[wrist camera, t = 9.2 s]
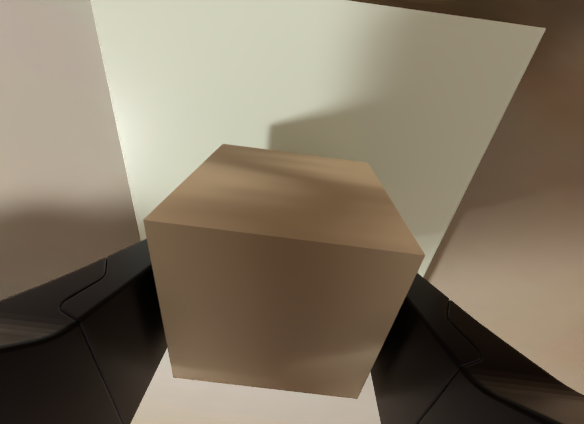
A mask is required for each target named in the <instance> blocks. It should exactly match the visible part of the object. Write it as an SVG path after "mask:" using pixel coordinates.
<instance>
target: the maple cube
mask: <svg viewBox="0 0 584 424" xmlns="http://www.w3.org/2000/svg"><path fill="white" fill-rule="evenodd" d="M143 222H144V227H145V233H146V238H147V243H148V248H149V253H150V259H151V264H152V269H153V274H154V279H155V284H156V290H157V295H158V300H159V305H160V310H161V316H162V321H163V326H164V331H165V336H166V342H167V347H168V352H169V357H170V362H171V367H172V373H173V377H174V378H183V379H191V380H200V381H208V382H217V383H226V384H234V385H243V386H251V387H260V388H269V389H277V390H286V391H294V392H303V393H312V394H320V395H329V396H337V397H346V398H355V399H357V398H358V396H359V394H360V392H361V390H362V388H363V386H364V384H365V382H366V379H367V377H368V375H369V373H370V371H371V369H372V367H373V365H374V363H375V360H376V358H377V356H378V354H379V352H380V350H381V348H382V346H383V344H384V342H385V339H386V337H387V335H388V333H389V331H390V329H391V327H392V325H393V323H394V320H395V318H396V316H397V314H398V312H399V310H400V308H401V306H402V304H403V301H404V299H405V297H406V295H407V293H408V291H409V289H410V287H411V285H412V282H413V280H414V278H415V276H416V274H417V272H418V270H419V268H420V266H421V264H422V261H423V259H424V257H425V254H424V252H423V251H422V249H421V248H420V246H419V244H418V243H417V241H416V239H415V238H414V236H413V235H412V233H411V231H410V230H409V228H408V227H407V225H406V223H405V222H404V220H403V218H402V217H401V215H400V214H399V212H398V210H397V209H396V207H395V206H394V204H393V202H392V201H391V199H390V197H389V196H388V194H387V193H386V191H385V189H384V188H383V186H382V185H381V183H380V181H379V180H378V178H377V176H376V175H375V173H374V172H373V170H372V168H371V167H370V165H369V164H368V163H367V162H359V161H351V160H344V159H336V158H328V157H321V156H313V155H306V154H298V153H290V152H283V151H275V150H268V149H260V148H252V147H245V146H237V145H229V144H222V145H221V146H220V147H219V148H218V149H217V150H216V151H215V152H214V153H212V154H211V155H210V156H209V157H208V158H207V159H206V160H205V161H204V162H203V163H202V164H201V165H200V166H199V167H198V168H197V169H196V170H195V171H194V172H193V173H192V174H191V175H189V176H188V177H187V178H186V179H185V180H184V181H183V182H182V183H181V184H180V185H179V186H178V187H177V188H176V189H175V190H174V191H173V192H172V193H171V194H170V195H169V196H167V197H166V198H165V199H164V200H163V201H162V202H161V203H160V204H159V205H158V206H157V207H156V208H155V209H154V210H153V211H152V212H151V213H150V214H149V215H148V216H147V217H146V218H144V219H143Z"/></svg>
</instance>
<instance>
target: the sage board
mask: <svg viewBox="0 0 584 424" xmlns="http://www.w3.org/2000/svg"><path fill="white" fill-rule="evenodd" d="M90 1H91V6H92V11H93V15H94V20H95V25H96V30H97V35H98V39H99V44H100V49H101V54H102V58H103V63H104V68H105V73H106V78H107V82H108V87H109V92H110V97H111V101H112V106H113V111H114V116H115V121H116V125H117V130H118V135H119V140H120V144H121V149H122V154H123V159H124V164H125V168H126V173H127V178H128V183H129V187H130V192H131V197H132V202H133V207H134V211H135V216H136V221H137V226H138V230H139V235H140V240H141V241H143V240H145V239H147V238H146V233H145V227H144V222H143V219H144V218H146V217H147V216H148V215H149V214H150V213H151V212H152V211H153V210H154V209H155V208H156V207H157V206H158V205H159V204H160V203H161V202H162V201H163V200H164V199H165V198H166V197H167V196H169V195H170V194H171V193H172V192H173V191H174V190H175V189H176V188H177V187H178V186H179V185H180V184H181V183H182V182H183V181H184V180H185V179H186V178H187V177H188V176H189V175H191V174H192V173H193V172H194V171H195V170H196V169H197V168H198V167H199V166H200V165H201V164H202V163H203V162H204V161H205V160H206V159H207V158H208V157H209V156H210V155H211V154H212V153H214V152H215V151H216V150H217V149H218V148H219V147H220V146H221V145H222V144H229V145H237V146H245V147H252V148H260V149H268V150H275V151H283V152H290V153H298V154H306V155H313V156H321V157H328V158H336V159H344V160H351V161H359V162H367V163H368V164H369V165H370V167H371V168H372V170H373V172H374V173H375V175H376V176H377V178H378V180H379V181H380V183H381V185H382V186H383V188H384V189H385V191H386V193H387V194H388V196H389V197H390V199H391V201H392V202H393V204H394V206H395V207H396V209H397V210H398V212H399V214H400V215H401V217H402V218H403V220H404V222H405V223H406V225H407V227H408V228H409V230H410V231H411V233H412V235H413V236H414V238H415V239H416V241H417V243H418V244H419V246H420V248H421V249H422V251H423V252H424V254H425V257H424V259H423V261H422V264H421V266H420V268H419V270H418V272H417V273H418V274H419V275H421V276H422V277H423V276H424V274H425V272H426V270H427V268H428V266H429V264H430V262H431V260H432V258H433V256H434V254H435V252H436V250H437V248H438V246H439V244H440V242H441V240H442V238H443V236H444V234H445V232H446V230H447V228H448V226H449V224H450V222H451V220H452V218H453V216H454V214H455V212H456V210H457V208H458V206H459V204H460V202H461V200H462V198H463V196H464V194H465V192H466V189H467V187H468V185H469V183H470V181H471V179H472V177H473V175H474V173H475V171H476V169H477V167H478V165H479V163H480V161H481V159H482V157H483V155H484V153H485V151H486V149H487V147H488V145H489V143H490V141H491V139H492V137H493V135H494V133H495V131H496V129H497V127H498V125H499V123H500V121H501V119H502V117H503V115H504V113H505V111H506V109H507V107H508V105H509V103H510V101H511V98H512V96H513V94H514V92H515V90H516V88H517V86H518V84H519V82H520V80H521V78H522V76H523V74H524V72H525V70H526V68H527V66H528V64H529V62H530V60H531V58H532V56H533V54H534V52H535V50H536V48H537V46H538V44H539V42H540V40H541V38H542V36H543V34H544V32H545V30H546V28H541V27H534V26H527V25H520V24H513V23H506V22H498V21H491V20H484V19H477V18H470V17H463V16H455V15H448V14H441V13H434V12H427V11H420V10H413V9H405V8H398V7H391V6H384V5H377V4H370V3H362V2H355V1H348V0H90Z"/></svg>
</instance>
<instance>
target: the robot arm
mask: <svg viewBox="0 0 584 424" xmlns="http://www.w3.org/2000/svg"><path fill="white" fill-rule="evenodd" d="M166 349H167V342H166V336H165V331H164V326H163V321H162V316H161V310H160V305H159V300H158V295H157V290H156V284H155V279H154V274H153V269H152V264H151V259H150V253H149V248H148V243H147V239H145V240H143V241H140V242H138V243H136V244H134V245H132V246H129V247H127V248H125V249H123V250H121V251H119V252H116V253H114V254H112V255H110V256H108V257H107V258H103V259H101V260H99V261H97V262H94V263H92V264H90V265H88V266H86V267H83V268H81V269H79V270H76V271H74V272H72V273H70V274H67V275H65V276H62V277H60V278H57V279H55V280H52V281H50V282H47V283H45V284H42V285H40V286H37V287H34V288H32V289H29V290H27V291H24V292H22V293H19V294H17V295H14V296H11V297H9V298H6V299H4V300H1V301H0V424H130V423H131V421H132V419H133V417H134V415H135V413H136V411H137V409H138V407H139V405H140V403H141V400H142V398H143V396H144V394H145V392H146V390H147V388H148V386H149V384H150V382H151V380H152V378H153V376H154V374H155V372H156V370H157V368H158V365H159V363H160V361H161V359H162V357H163V355H164V353H165V351H166ZM371 376H372V381H373V386H374V391H375V396H376V401H377V406H378V411H379V416H380V421H381V424H584V395H582V394H580V393H578V392H576V391H575V390H573V389H571V388H570V387H568V386H566V385H565V384H563V383H562V382H560V381H559V380H557V379H556V378H554V377H553V376H552V375H550V374H549V373H547V372H546V371H545V370H543V369H542V368H540V367H539V366H538V365H536V364H535V363H534V362H532V361H531V360H529V359H528V358H527V357H525V356H524V355H523V354H521V353H520V352H518V351H517V350H516V349H514V348H513V347H511V346H510V345H509V344H507V343H506V342H505V341H503V340H502V339H500V338H499V337H498V336H496V335H495V334H494V333H492V332H491V331H490V330H488V329H487V328H486V327H484V326H483V325H481V324H480V323H479V322H478V321H476V320H475V319H474V318H473V317H471V316H470V315H469V314H467V313H466V312H465V311H464V310H462V309H461V308H460V307H459V306H458V305H456V304H455V303H454V302H453V301H451V300H449V298H448V297H446V296H445V295H444V294H443V293H442V292H440V291H439V290H438V289H437V288H435V287H434V286H433V285H432V284H431V283H429V282H428V281H427V280H426V279H424V278H423V277H422V276H421V275H419V274H418V273H417V274H416V276H415V278H414V280H413V282H412V285H411V287H410V289H409V291H408V293H407V295H406V297H405V299H404V301H403V304H402V306H401V308H400V310H399V312H398V314H397V316H396V318H395V320H394V323H393V325H392V327H391V329H390V331H389V333H388V335H387V337H386V339H385V342H384V344H383V346H382V348H381V350H380V352H379V354H378V356H377V358H376V360H375V363H374V365H373V367H372V369H371Z"/></svg>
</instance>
